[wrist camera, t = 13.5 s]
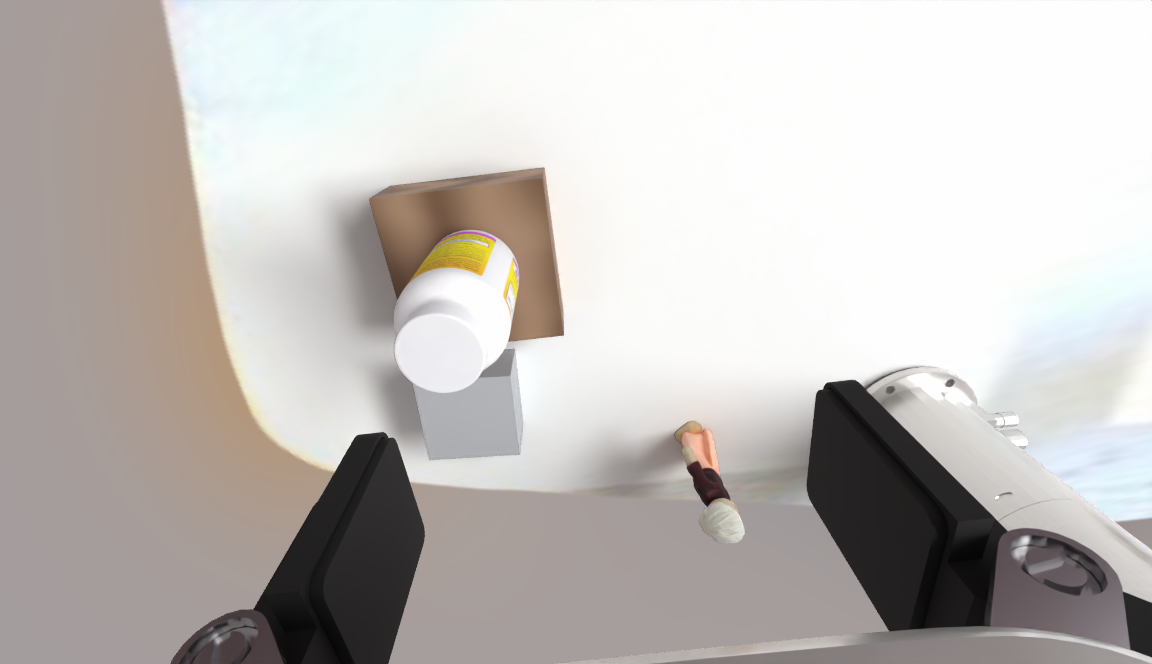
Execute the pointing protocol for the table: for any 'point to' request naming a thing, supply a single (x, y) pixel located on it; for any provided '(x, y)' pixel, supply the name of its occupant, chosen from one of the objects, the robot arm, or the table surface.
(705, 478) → the grandmother figurine
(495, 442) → the grey block
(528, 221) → the walnut block
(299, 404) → the table surface
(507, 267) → the supplement bottle
